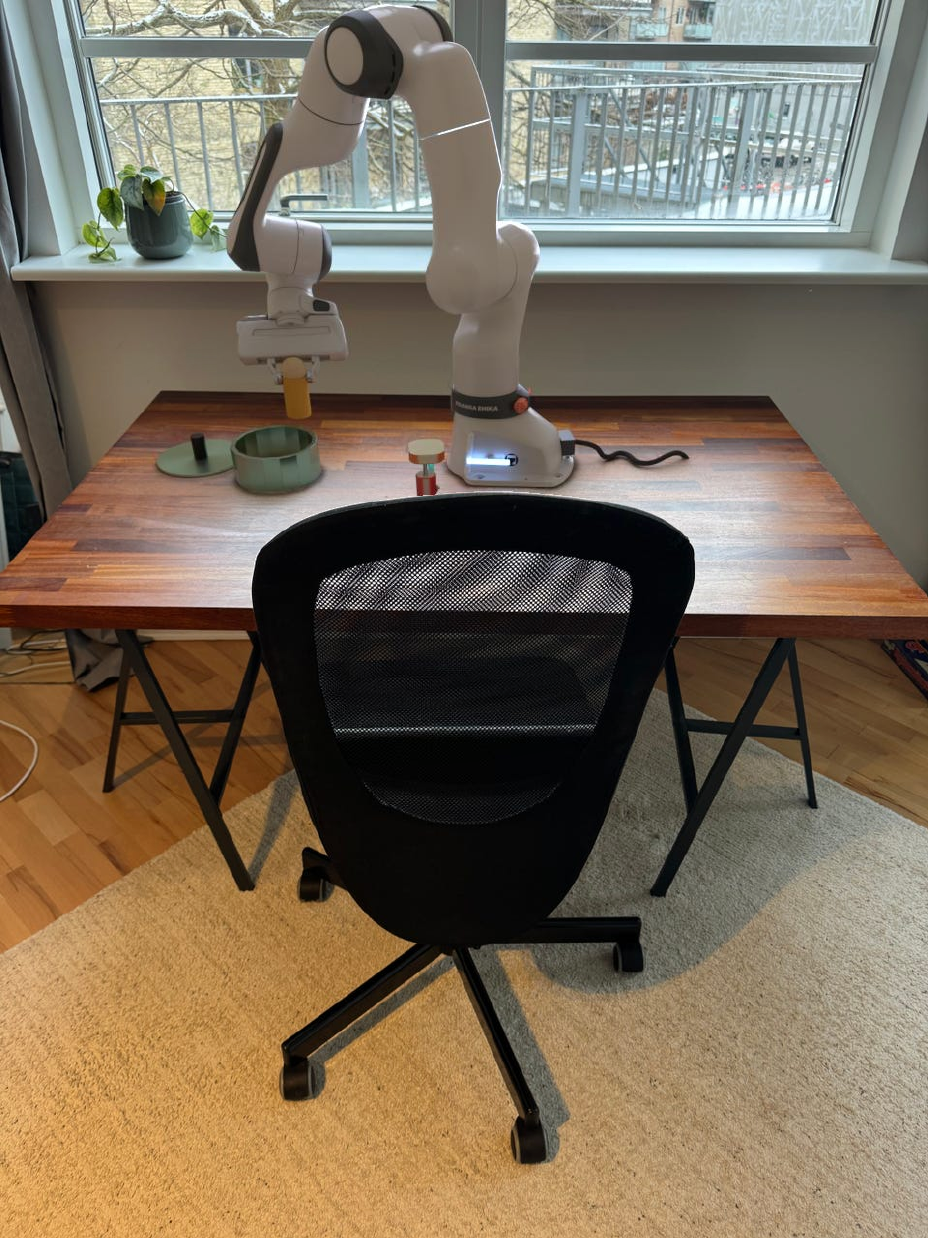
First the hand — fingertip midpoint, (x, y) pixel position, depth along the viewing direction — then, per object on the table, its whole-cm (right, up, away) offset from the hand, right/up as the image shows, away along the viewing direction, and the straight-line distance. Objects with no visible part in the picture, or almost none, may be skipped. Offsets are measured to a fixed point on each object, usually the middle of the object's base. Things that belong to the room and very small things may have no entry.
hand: (295, 382), depth 164 cm
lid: (-16, -15, -3) cm, 22 cm away
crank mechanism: (+26, -32, -29) cm, 50 cm away
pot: (-1, -19, -9) cm, 21 cm away
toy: (0, -5, +4) cm, 6 cm away
